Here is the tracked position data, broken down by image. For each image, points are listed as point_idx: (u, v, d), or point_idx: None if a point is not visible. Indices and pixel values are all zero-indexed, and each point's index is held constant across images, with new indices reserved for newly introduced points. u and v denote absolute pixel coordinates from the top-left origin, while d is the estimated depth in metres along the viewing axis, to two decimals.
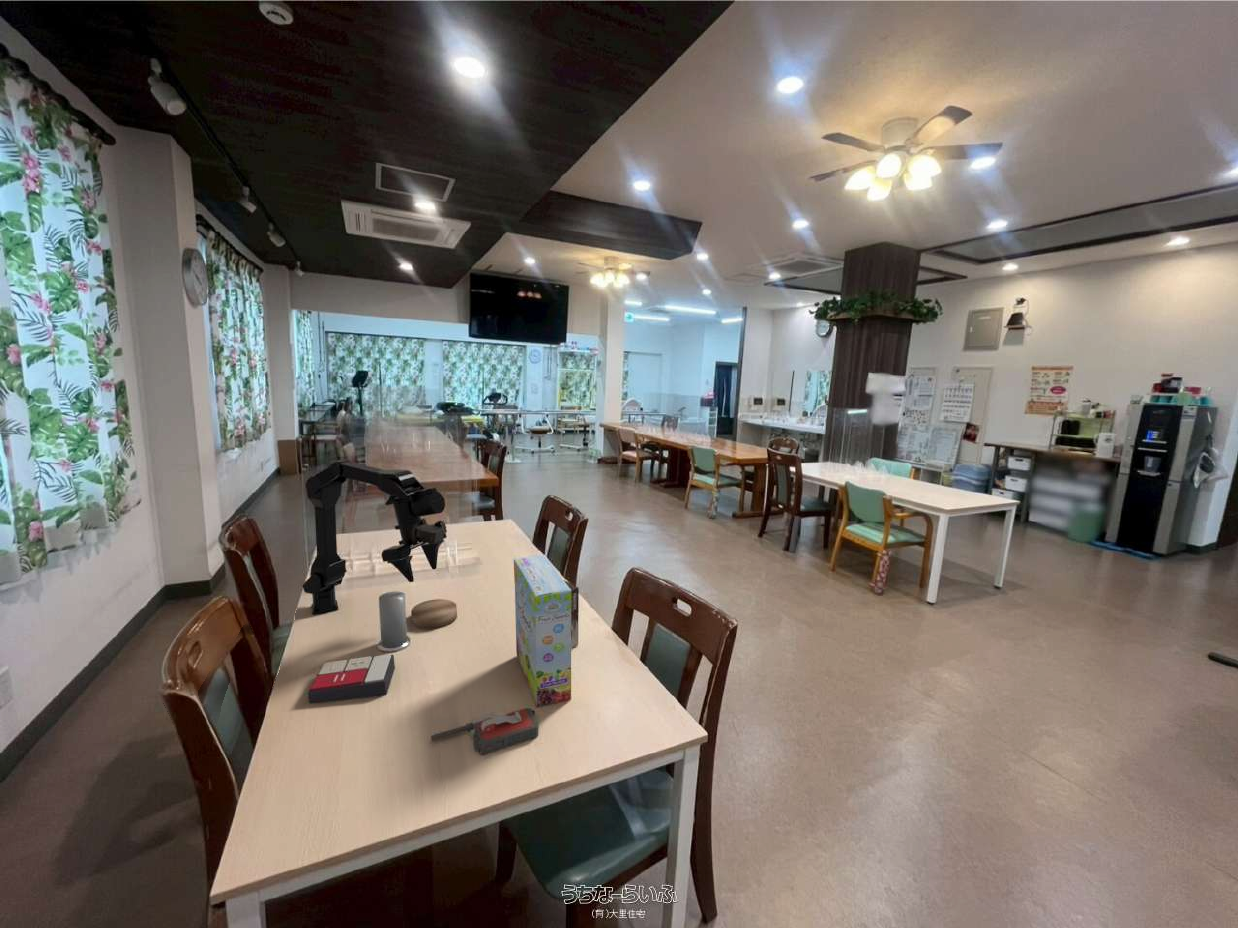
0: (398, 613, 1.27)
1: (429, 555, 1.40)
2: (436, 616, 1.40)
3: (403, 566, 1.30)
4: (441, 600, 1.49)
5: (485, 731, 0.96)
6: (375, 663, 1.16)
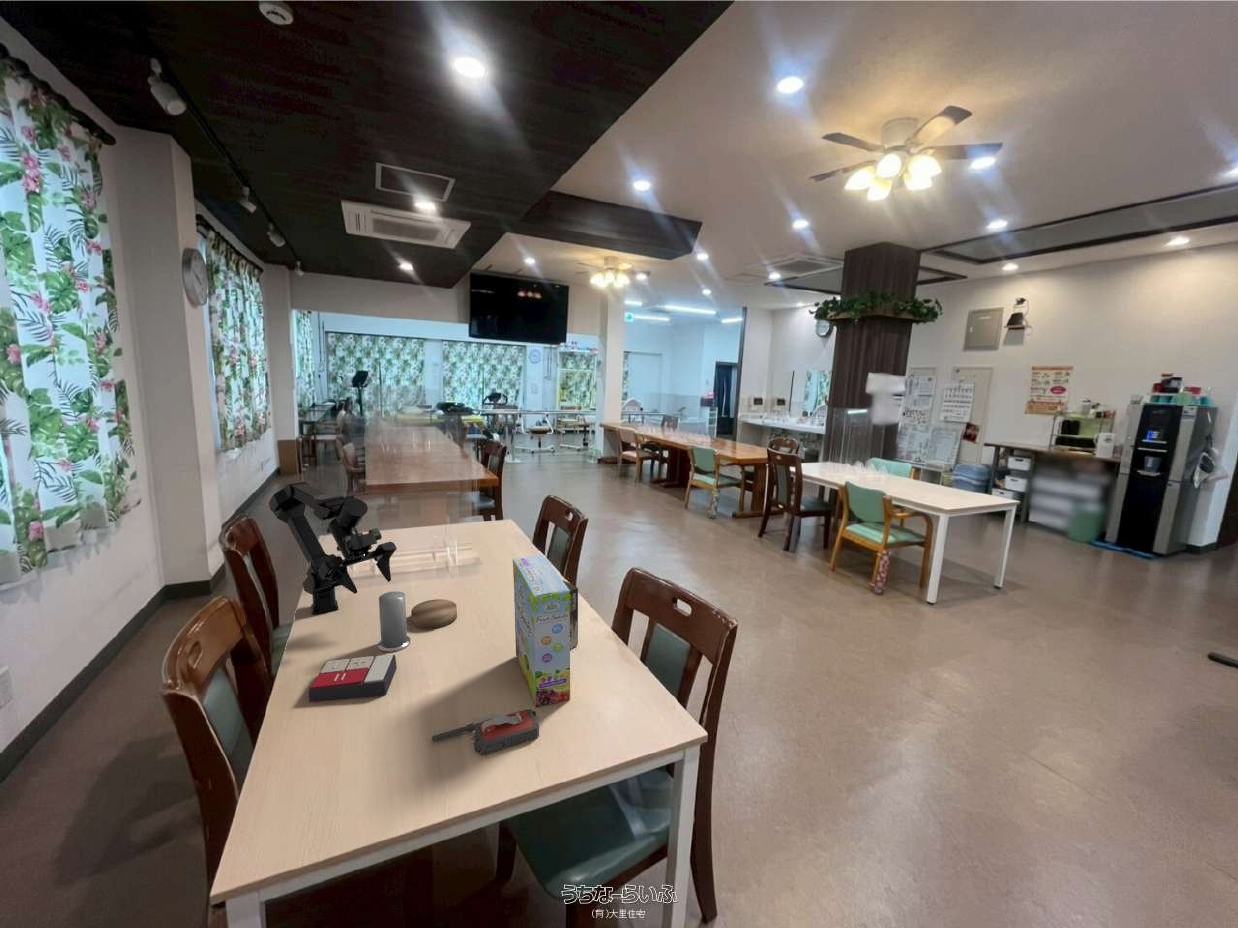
0: (398, 613, 1.27)
1: (382, 569, 1.38)
2: (436, 616, 1.40)
3: (343, 579, 1.29)
4: (441, 600, 1.49)
5: (486, 732, 0.96)
6: (376, 663, 1.17)
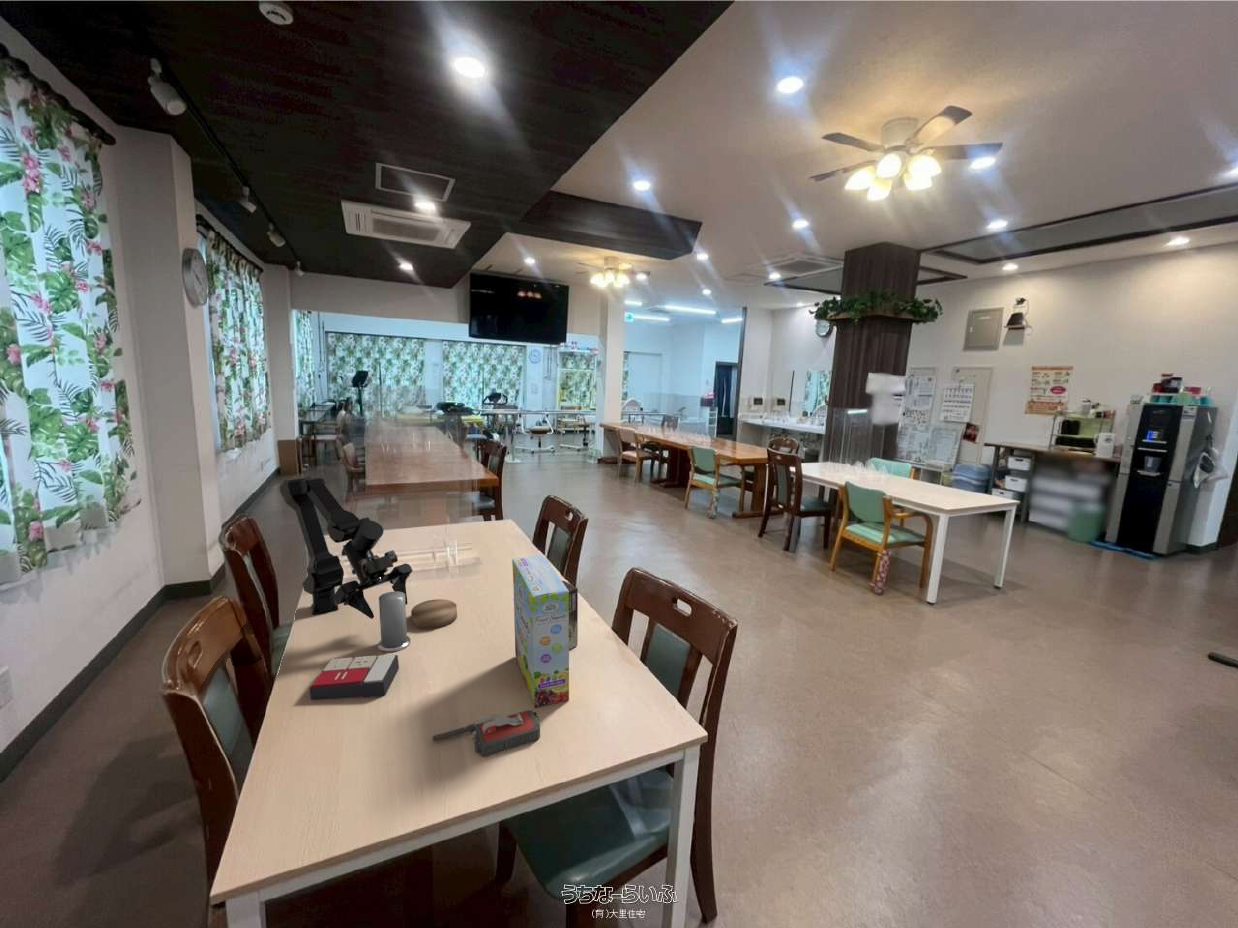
0: (398, 613, 1.27)
1: None
2: (436, 616, 1.40)
3: (359, 604, 1.26)
4: (441, 600, 1.49)
5: (486, 733, 0.96)
6: (378, 662, 1.17)
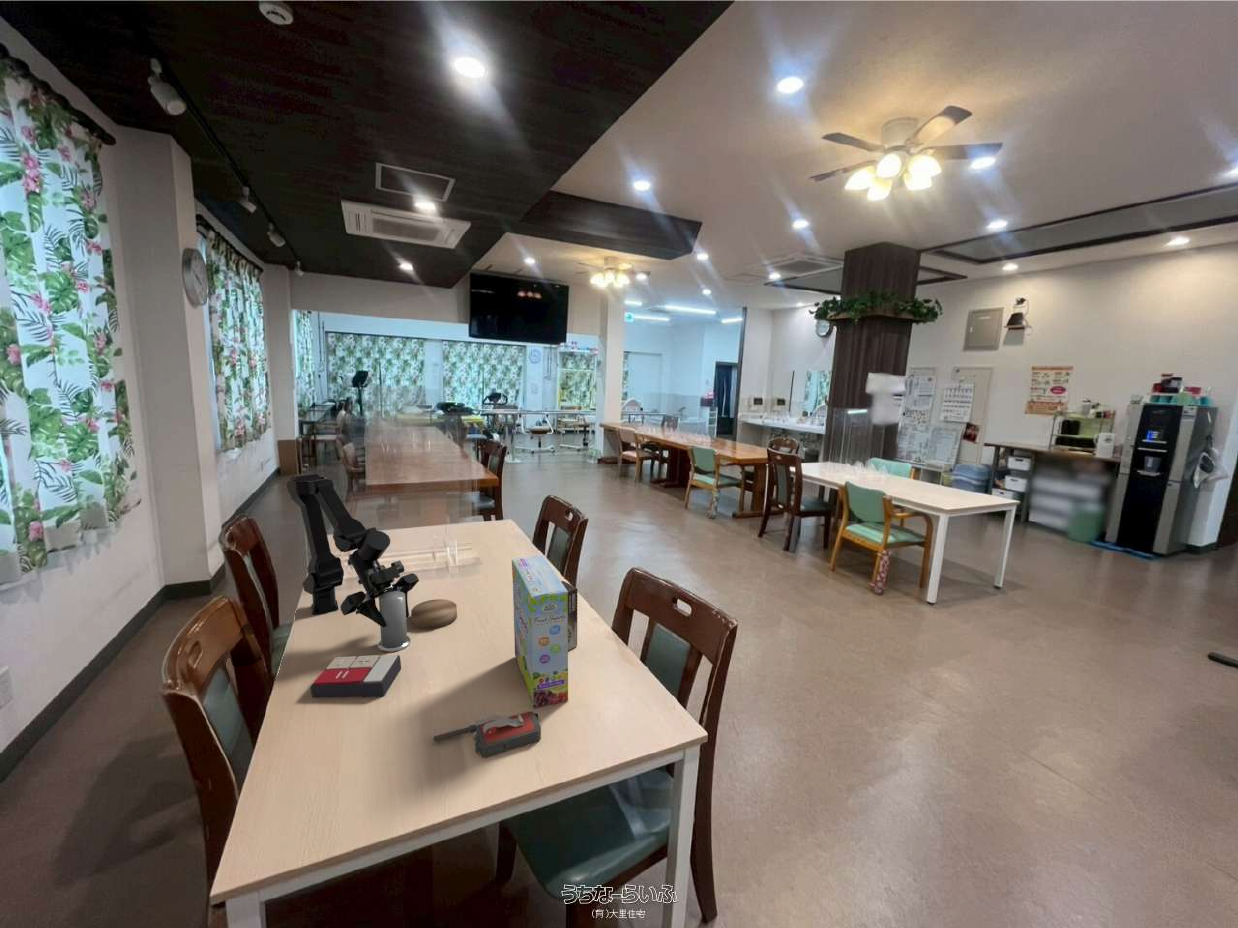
0: (398, 613, 1.27)
1: None
2: (436, 616, 1.40)
3: (371, 612, 1.27)
4: (441, 600, 1.49)
5: (487, 734, 0.96)
6: (379, 662, 1.17)
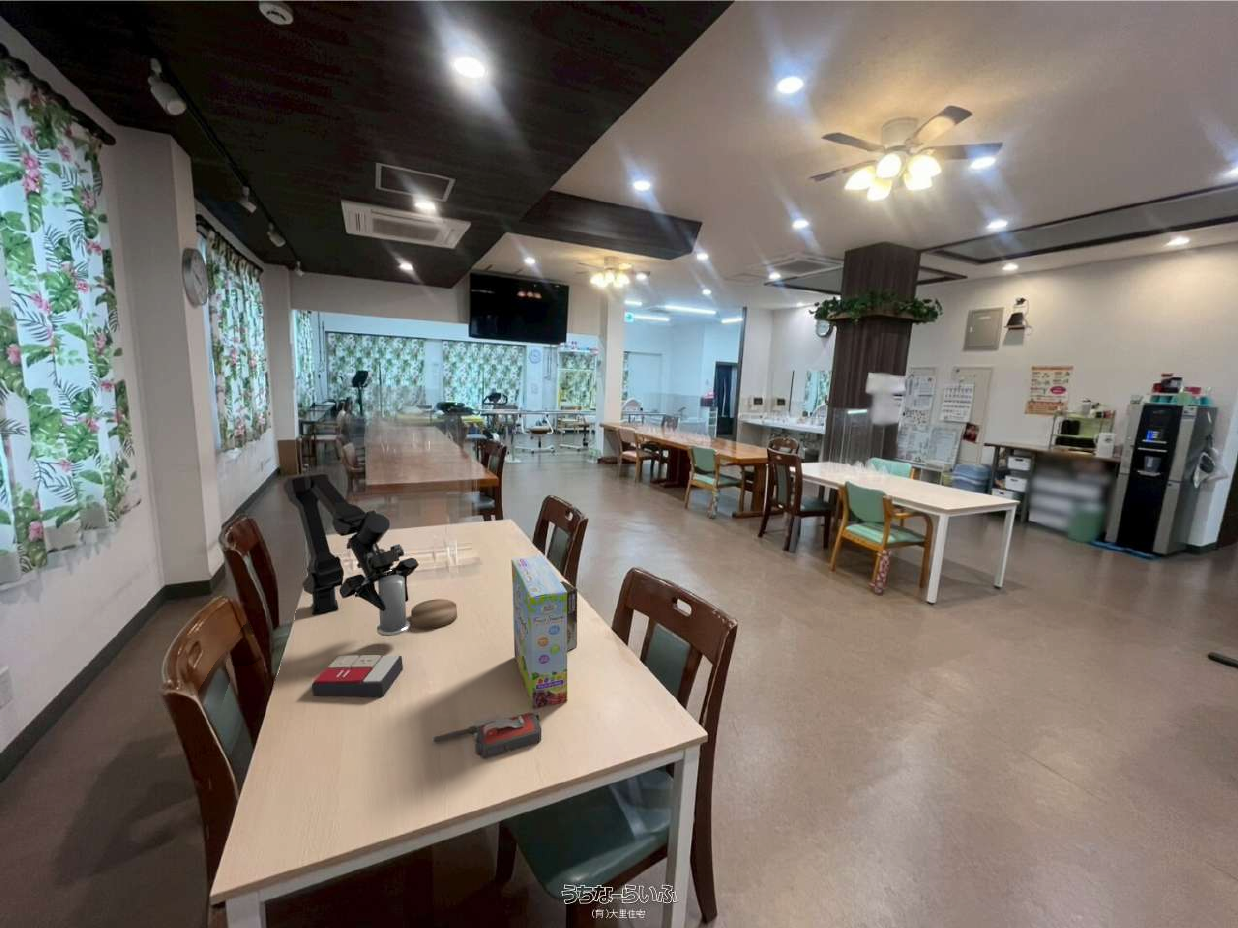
0: (397, 597, 1.26)
1: None
2: (436, 616, 1.40)
3: (370, 596, 1.26)
4: (441, 600, 1.49)
5: (487, 735, 0.95)
6: (381, 662, 1.17)
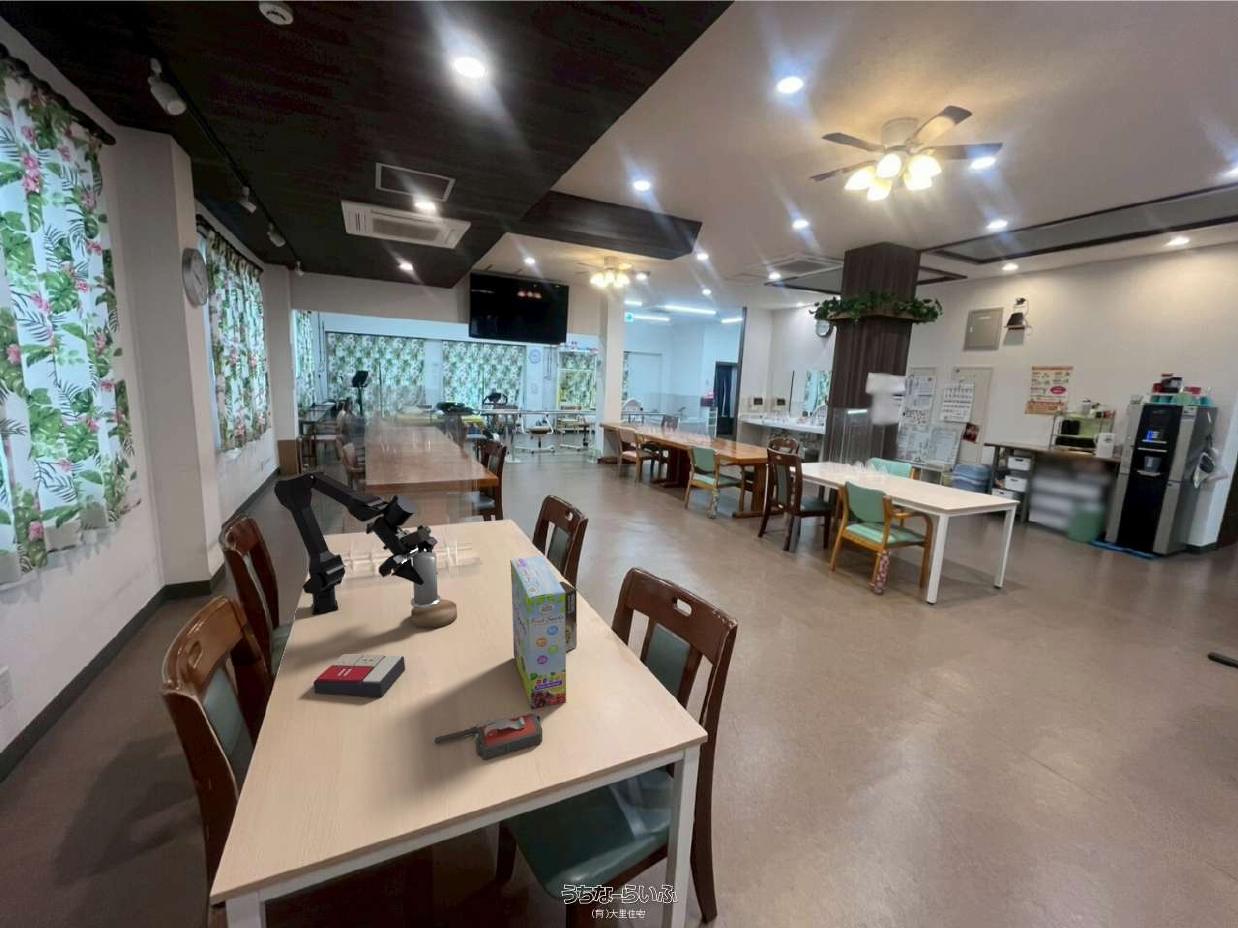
0: (433, 571, 1.37)
1: None
2: (436, 616, 1.40)
3: (408, 572, 1.34)
4: (441, 600, 1.49)
5: (488, 736, 0.95)
6: (382, 662, 1.17)
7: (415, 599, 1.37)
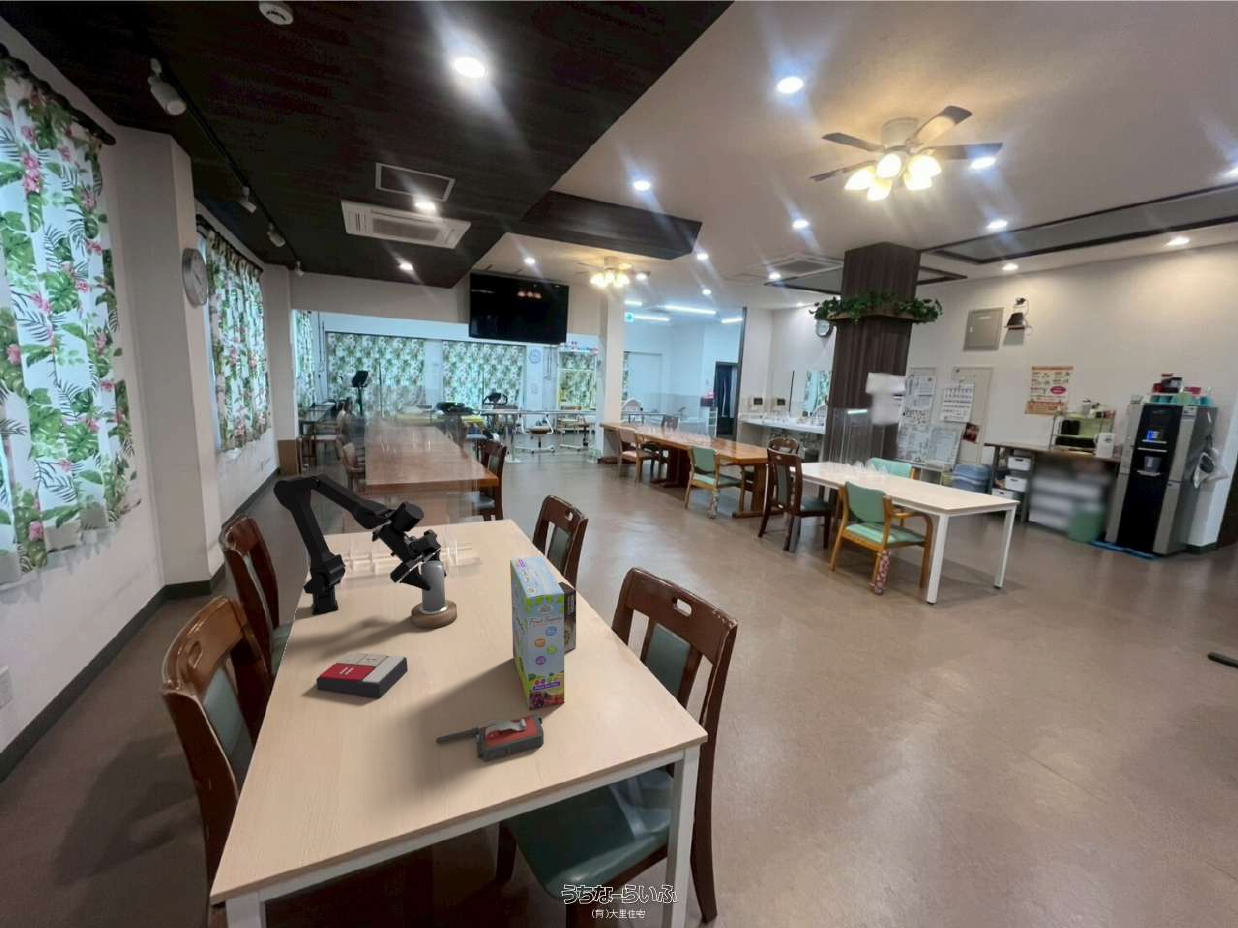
0: (442, 578, 1.42)
1: None
2: (436, 616, 1.40)
3: (415, 579, 1.37)
4: None
5: (489, 737, 0.95)
6: (385, 663, 1.17)
7: (424, 606, 1.41)
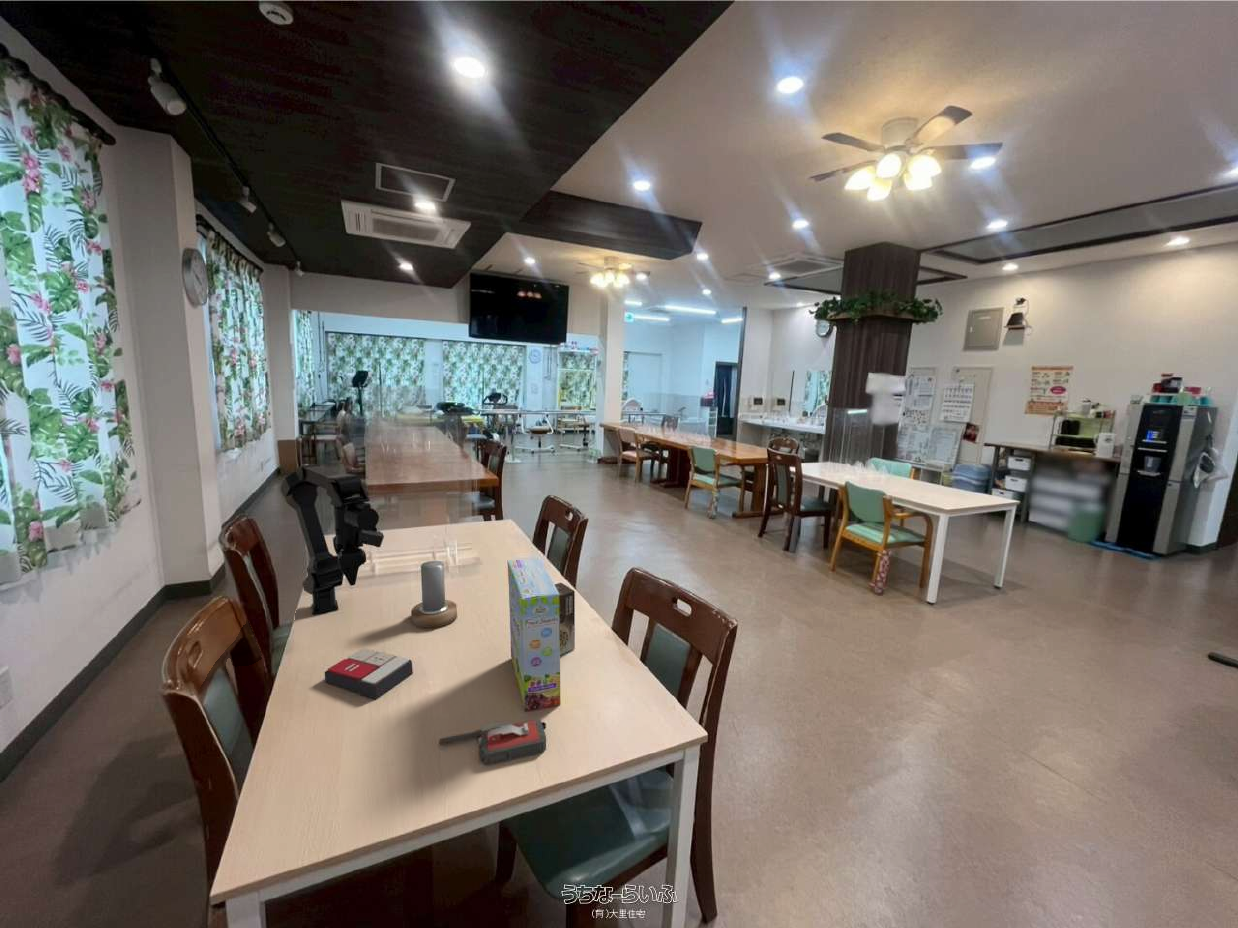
0: (442, 578, 1.42)
1: None
2: (436, 616, 1.40)
3: (351, 570, 1.32)
4: None
5: (491, 740, 0.94)
6: (389, 663, 1.16)
7: (424, 606, 1.41)
